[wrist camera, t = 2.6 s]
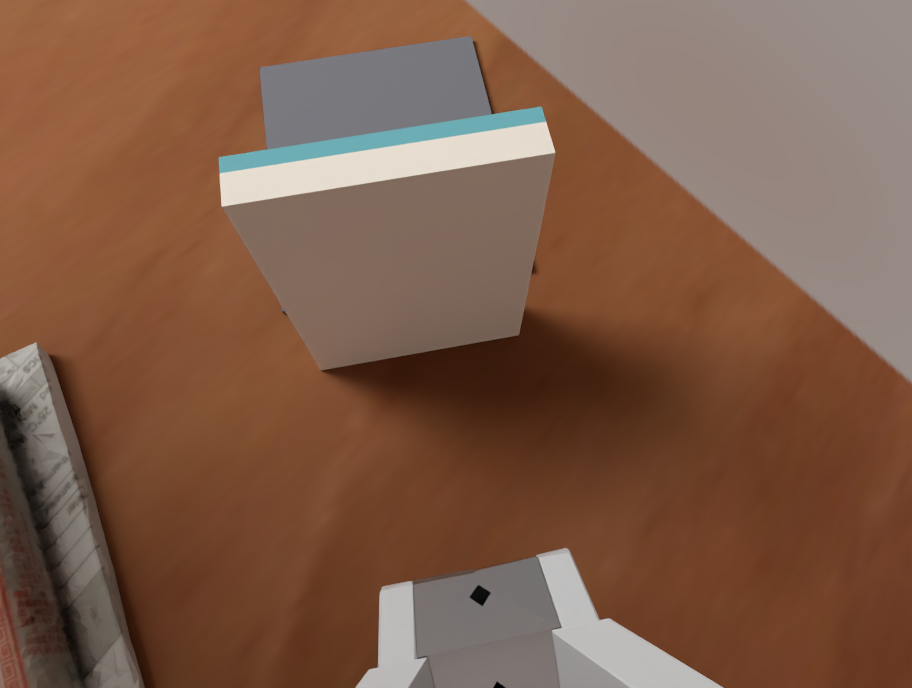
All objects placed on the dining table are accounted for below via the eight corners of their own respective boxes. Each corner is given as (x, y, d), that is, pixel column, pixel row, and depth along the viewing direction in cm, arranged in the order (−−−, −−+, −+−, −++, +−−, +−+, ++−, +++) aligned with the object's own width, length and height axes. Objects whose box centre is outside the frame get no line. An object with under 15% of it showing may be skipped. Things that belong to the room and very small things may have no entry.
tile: (518, 335, 32) (555, 152, 19) (320, 370, 32) (221, 206, 19) (511, 303, 33) (541, 106, 20) (316, 337, 32) (218, 157, 19)
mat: (532, 271, 34) (532, 268, 33) (283, 313, 33) (281, 311, 33) (471, 39, 40) (471, 35, 40) (260, 71, 39) (259, 67, 39)
